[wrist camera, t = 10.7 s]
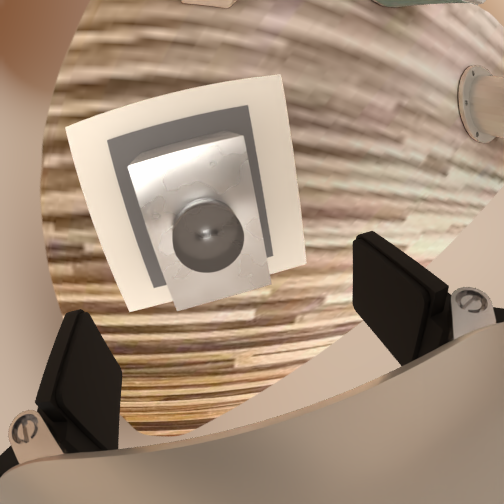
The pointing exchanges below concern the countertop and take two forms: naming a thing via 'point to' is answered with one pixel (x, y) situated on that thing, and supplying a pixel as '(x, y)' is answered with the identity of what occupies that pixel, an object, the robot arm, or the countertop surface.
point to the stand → (175, 130)
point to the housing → (202, 217)
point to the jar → (211, 2)
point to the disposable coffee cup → (422, 2)
